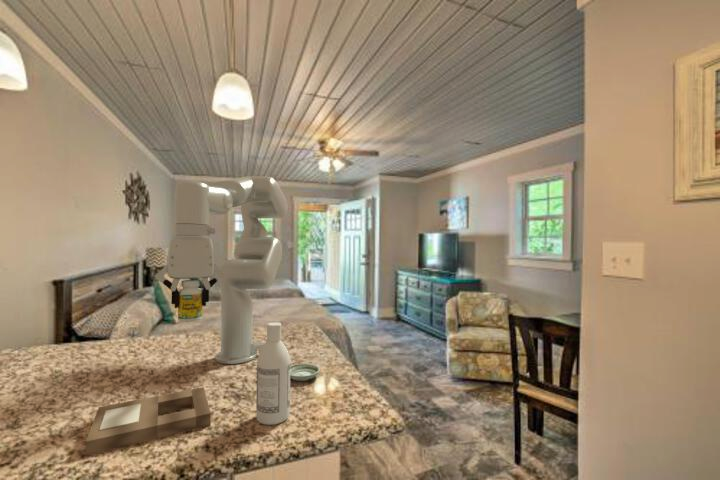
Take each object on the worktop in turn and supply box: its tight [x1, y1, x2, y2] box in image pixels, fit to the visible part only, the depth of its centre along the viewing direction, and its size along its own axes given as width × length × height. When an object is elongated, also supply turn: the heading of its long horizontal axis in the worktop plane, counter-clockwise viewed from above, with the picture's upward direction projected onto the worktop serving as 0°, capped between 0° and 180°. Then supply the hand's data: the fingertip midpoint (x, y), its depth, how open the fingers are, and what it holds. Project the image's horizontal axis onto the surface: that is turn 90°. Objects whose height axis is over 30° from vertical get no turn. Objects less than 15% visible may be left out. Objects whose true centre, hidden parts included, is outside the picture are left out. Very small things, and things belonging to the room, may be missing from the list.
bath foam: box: [255, 322, 291, 426], centre depth 72 cm, size 7×7×20 cm
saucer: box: [290, 363, 321, 382], centre depth 93 cm, size 10×10×2 cm
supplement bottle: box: [177, 279, 203, 323], centre depth 82 cm, size 5×5×10 cm
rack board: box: [85, 386, 212, 457], centre depth 70 cm, size 20×14×3 cm
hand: (190, 305), depth 82 cm, fingers closed on supplement bottle, 5 cm apart
